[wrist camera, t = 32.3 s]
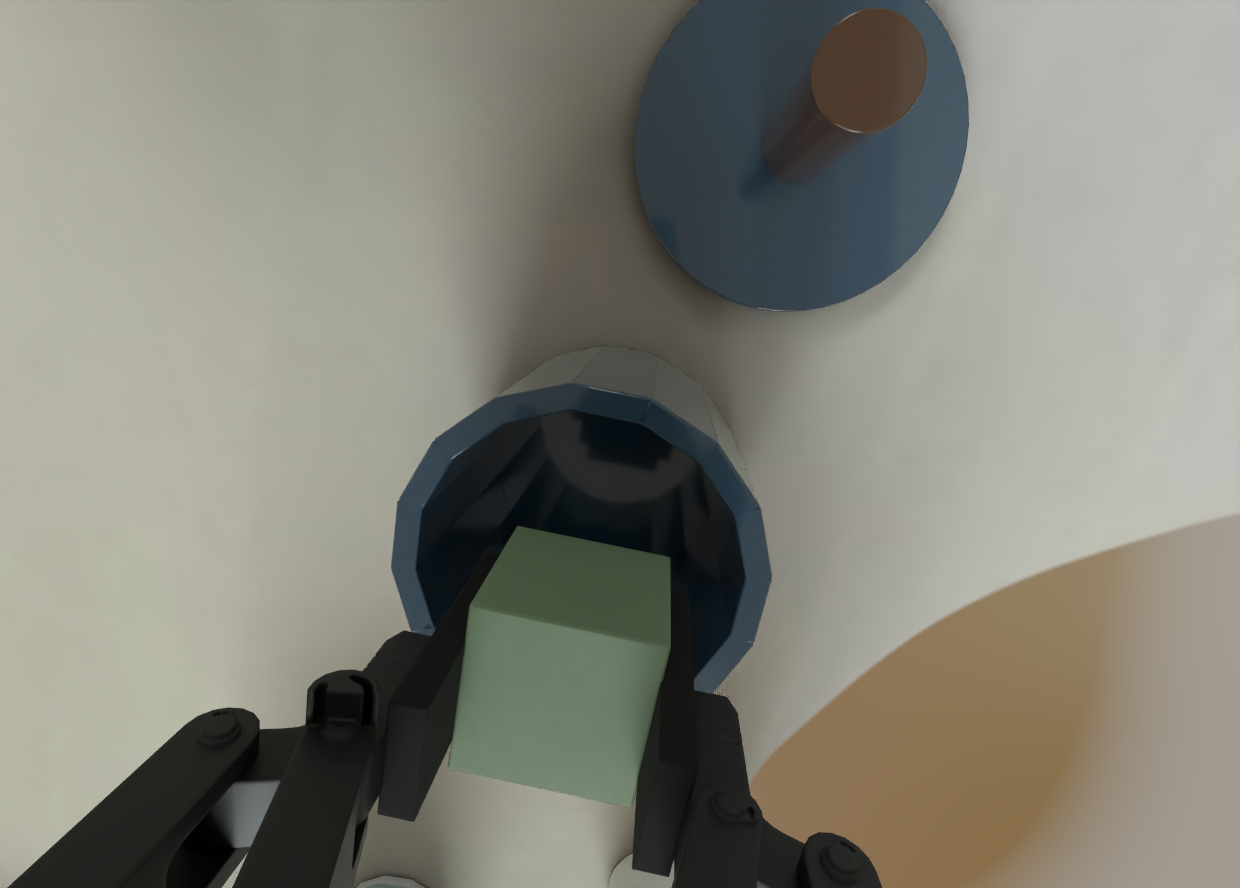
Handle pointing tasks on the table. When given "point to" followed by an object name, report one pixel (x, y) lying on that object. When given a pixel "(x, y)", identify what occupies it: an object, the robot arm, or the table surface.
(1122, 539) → the table surface
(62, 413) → the table surface
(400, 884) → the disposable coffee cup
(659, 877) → the cylindrical container
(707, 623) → the canister
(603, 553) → the block
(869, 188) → the lid
